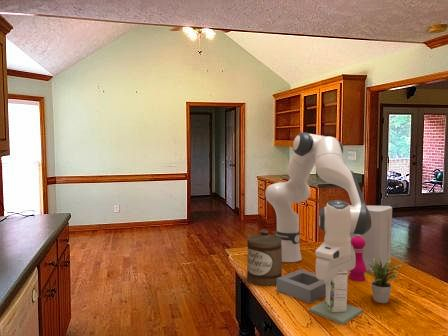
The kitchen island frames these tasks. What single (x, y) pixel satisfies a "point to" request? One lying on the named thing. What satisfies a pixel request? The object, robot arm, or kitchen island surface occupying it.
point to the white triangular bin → (377, 236)
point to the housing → (302, 286)
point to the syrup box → (338, 293)
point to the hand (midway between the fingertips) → (336, 286)
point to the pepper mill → (358, 259)
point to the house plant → (382, 280)
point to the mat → (336, 313)
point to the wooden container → (264, 259)
